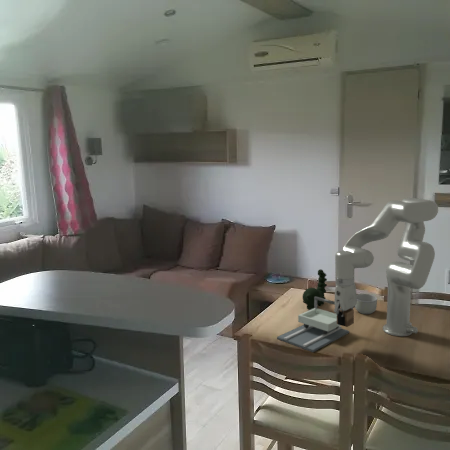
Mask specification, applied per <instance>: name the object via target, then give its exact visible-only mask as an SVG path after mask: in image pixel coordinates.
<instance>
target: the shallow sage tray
mask: <svg viewBox="0 0 450 450" xmlns="http://www.w3.org/2000/svg"><path fill="white" fill-rule="evenodd" d="M317 300H319V301H323V302H324V303H327V304H331V305H333V306H335V300H330V299H327V298H326V299H324V298H320V297H316V296H315V297H314V309H311V310H307V311H305V312H302V313H300V314H298V315H297V316H298V317H297V319H298V320H297V321H298V323H301V324H302V325H304V327H305V328H308V327H309V325H310V326H313V327H316V328H319V329H322V330H323V331H322V332H323V334H327V332H329V331H330V330H332V329H334V328H338V327H339V326H341V325H338V324H337V314H336V313H335V312H331V311H328V310H325V309H321V308H318V305H317Z"/></svg>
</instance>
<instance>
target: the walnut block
mask: <svg viewBox="0 0 450 450" xmlns="http://www.w3.org/2000/svg"><path fill="white" fill-rule="evenodd" d="M340 312H341V313H342V310H340ZM354 313H355V309H354V308H353V309H348V310H346V311H345V313H344V317H345V326H344V327H345V328H349V327H350V326H351V325H353V324H355V319H354V318H355V317H354V316H355V314H354ZM337 324H338V316H337Z"/></svg>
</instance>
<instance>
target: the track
mask: <svg viewBox="0 0 450 450" xmlns="http://www.w3.org/2000/svg"><path fill="white" fill-rule="evenodd" d="M342 327H343V326H342V325H340V326H339V327H338V328H334V329H332V330H330V331H329V332H327V334H323V332H322V331H323V330H322V329H319V328H316V327H313V326H310V325H309V327H308V328H305V327H304V324H302V325H300V326H298V327H296V328H293V329H291V330H289V331H287V332H285V333H283V334H281V335H277V337H276V338H277V340H279V341H281V342H284V343H287V344H290V345H292V346H295V347H297V348H300V349H303V350H305V351H309V352H311V353H315V352H316V351H318V350H319V349H321V348H324V347H326V346H327V345H329V344H331V343H334V342H335V341H337V340H338V339H341V338H342V337H345V336H346V335H348V334H349V333H350V330H348V329H344V328H342Z"/></svg>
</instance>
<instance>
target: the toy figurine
mask: <svg viewBox="0 0 450 450" xmlns="http://www.w3.org/2000/svg"><path fill="white" fill-rule="evenodd" d="M317 276H318V278H317V281H318V282H317V284H316V285H317V287H316V288H315V287H309V288H306V289H305V290H304V291H303V293H302V302H303V304H305V305H306V309H307V311H309V310H311V309H314V297H315V296H316V297H320V298H324V299H327V298H326V296H325V294H326V292H327V289H326V287H327V286H328V285H327V283H326V282H327V280H328V278H326V276H327V273H325V271H324V270H323V269H318V270H317ZM323 305H325V302H323V301H319V300H317V307H321V306H323Z"/></svg>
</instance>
